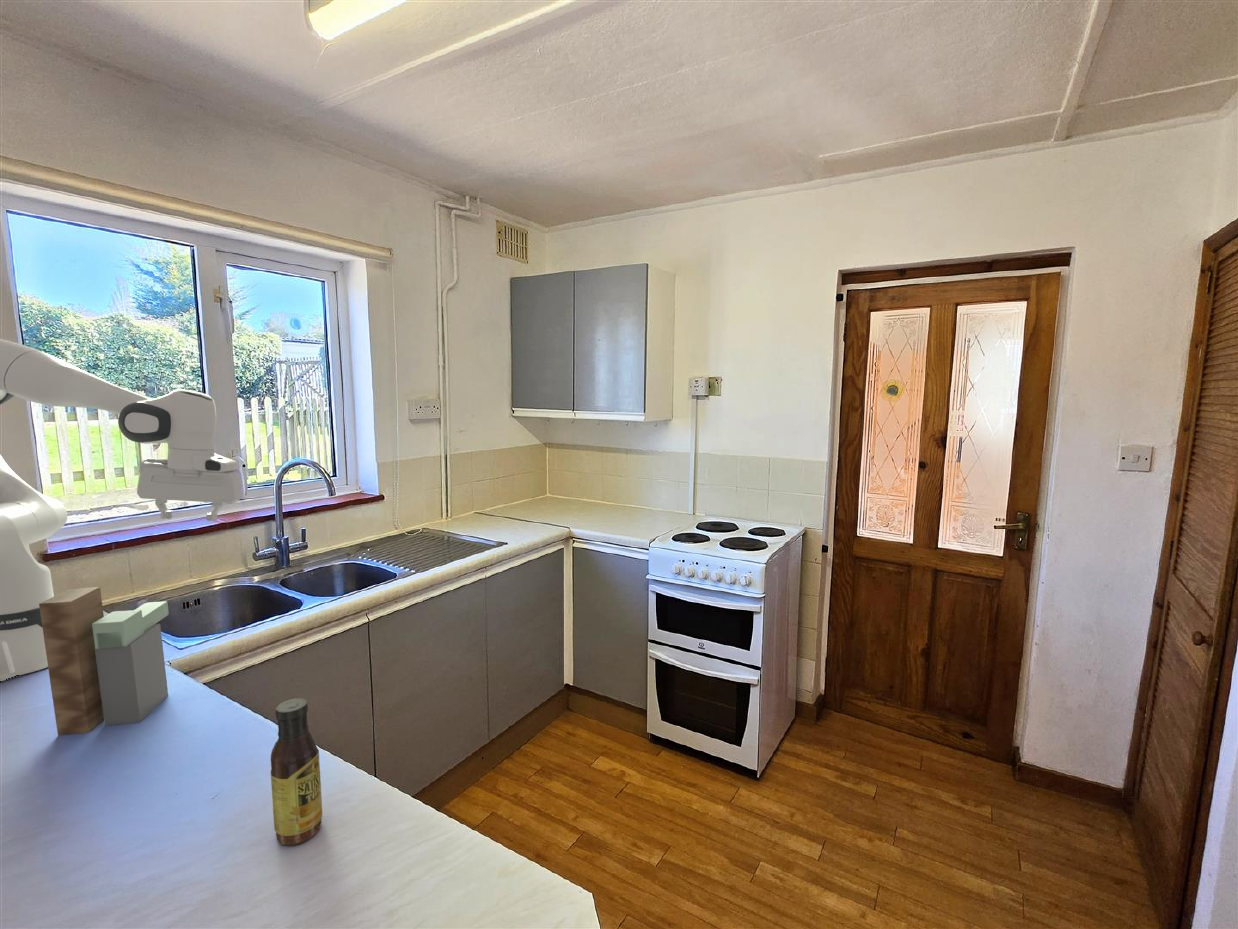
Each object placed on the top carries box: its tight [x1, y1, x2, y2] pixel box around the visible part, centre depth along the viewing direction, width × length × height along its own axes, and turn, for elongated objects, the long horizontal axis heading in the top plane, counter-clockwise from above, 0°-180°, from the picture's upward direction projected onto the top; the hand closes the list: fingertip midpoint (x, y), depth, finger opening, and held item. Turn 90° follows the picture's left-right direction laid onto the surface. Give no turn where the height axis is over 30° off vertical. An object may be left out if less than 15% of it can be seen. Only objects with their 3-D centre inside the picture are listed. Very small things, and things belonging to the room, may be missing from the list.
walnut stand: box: [39, 586, 105, 736], centre depth 112 cm, size 5×8×26 cm, turn 12°
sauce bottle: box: [270, 697, 323, 846], centre depth 84 cm, size 7×6×20 cm
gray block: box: [95, 623, 169, 726], centre depth 117 cm, size 6×10×16 cm, turn 12°
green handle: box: [92, 600, 170, 649], centre depth 118 cm, size 5×16×5 cm, turn 12°
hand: (189, 519), depth 135 cm, fingers open, 8 cm apart
